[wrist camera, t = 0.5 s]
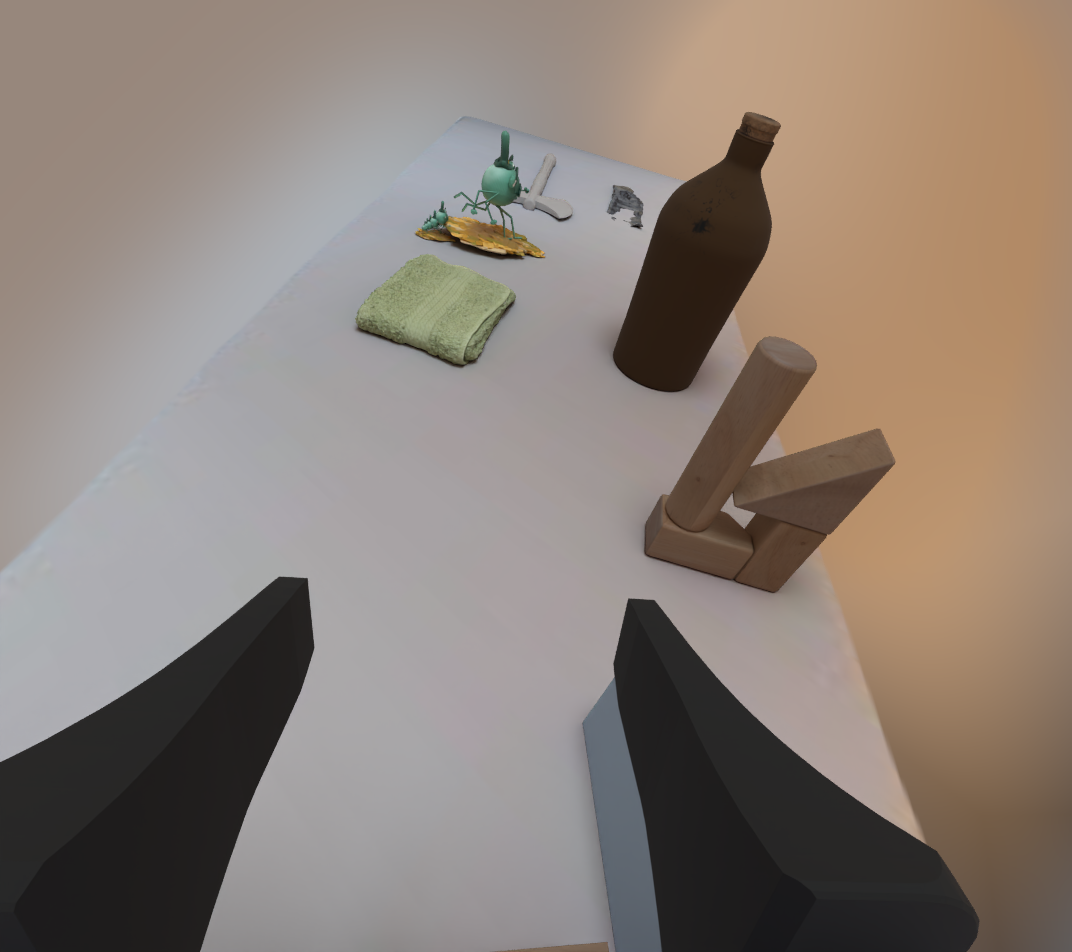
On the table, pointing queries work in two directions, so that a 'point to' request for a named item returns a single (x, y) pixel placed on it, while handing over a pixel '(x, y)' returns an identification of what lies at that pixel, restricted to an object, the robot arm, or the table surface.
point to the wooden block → (763, 481)
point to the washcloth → (436, 308)
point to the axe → (546, 204)
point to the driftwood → (626, 204)
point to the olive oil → (699, 263)
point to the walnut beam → (569, 948)
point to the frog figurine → (498, 191)
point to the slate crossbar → (621, 829)
